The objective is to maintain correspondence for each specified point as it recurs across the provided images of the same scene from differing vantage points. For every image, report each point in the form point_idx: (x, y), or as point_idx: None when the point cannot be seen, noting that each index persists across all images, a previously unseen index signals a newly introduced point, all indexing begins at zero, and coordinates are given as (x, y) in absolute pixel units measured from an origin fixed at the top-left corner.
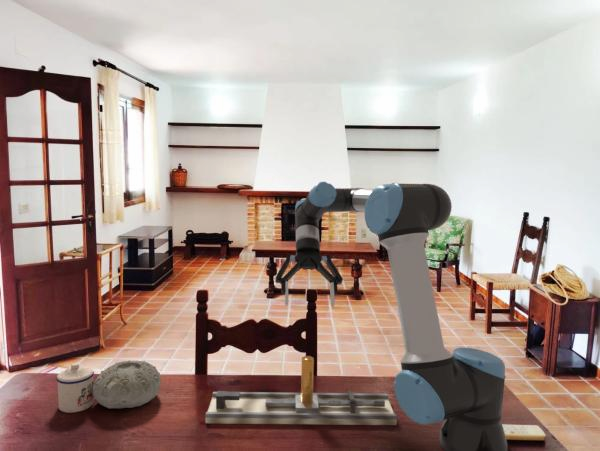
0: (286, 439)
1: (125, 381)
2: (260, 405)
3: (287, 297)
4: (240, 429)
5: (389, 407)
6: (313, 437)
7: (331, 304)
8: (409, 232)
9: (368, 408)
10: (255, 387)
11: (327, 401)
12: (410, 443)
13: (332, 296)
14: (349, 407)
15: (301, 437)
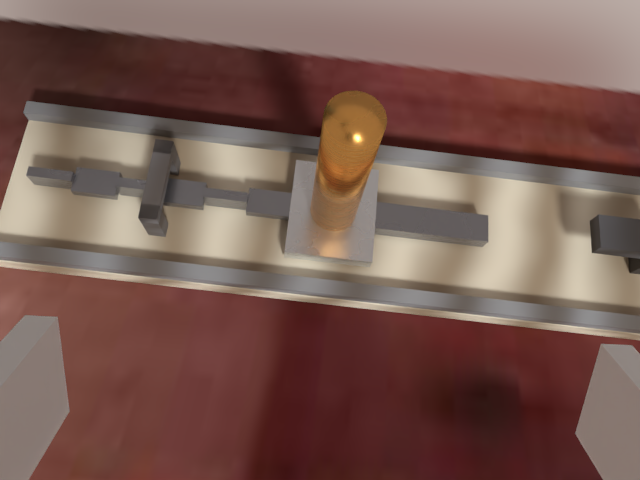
0: (407, 90)
1: None
2: (499, 244)
3: (637, 376)
4: (545, 152)
5: (18, 181)
6: (327, 90)
7: (63, 383)
8: None
9: None
10: (526, 442)
11: (253, 201)
12: (46, 31)
13: (13, 360)
14: None
15: None
